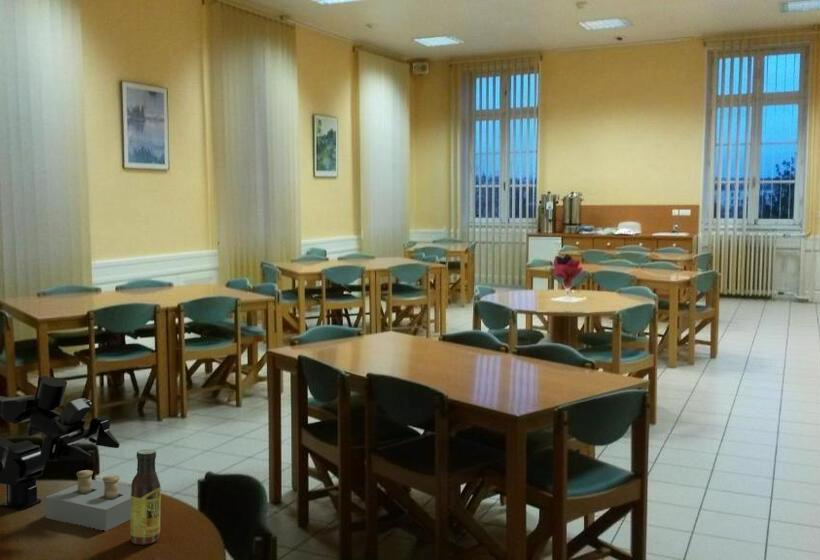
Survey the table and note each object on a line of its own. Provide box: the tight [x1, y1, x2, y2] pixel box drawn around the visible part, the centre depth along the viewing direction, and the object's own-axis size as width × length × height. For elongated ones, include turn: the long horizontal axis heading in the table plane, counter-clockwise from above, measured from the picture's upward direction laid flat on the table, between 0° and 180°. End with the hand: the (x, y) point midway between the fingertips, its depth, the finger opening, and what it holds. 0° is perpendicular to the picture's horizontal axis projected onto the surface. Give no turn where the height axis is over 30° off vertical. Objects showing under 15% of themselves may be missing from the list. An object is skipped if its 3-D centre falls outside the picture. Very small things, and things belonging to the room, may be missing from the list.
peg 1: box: [76, 469, 94, 495], centre depth 187 cm, size 4×4×6 cm
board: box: [45, 479, 131, 532], centre depth 186 cm, size 18×14×5 cm
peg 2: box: [102, 474, 120, 500], centre depth 184 cm, size 4×4×6 cm
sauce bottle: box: [129, 448, 162, 546], centre depth 171 cm, size 7×6×20 cm
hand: (104, 451), depth 181 cm, fingers open, 9 cm apart
